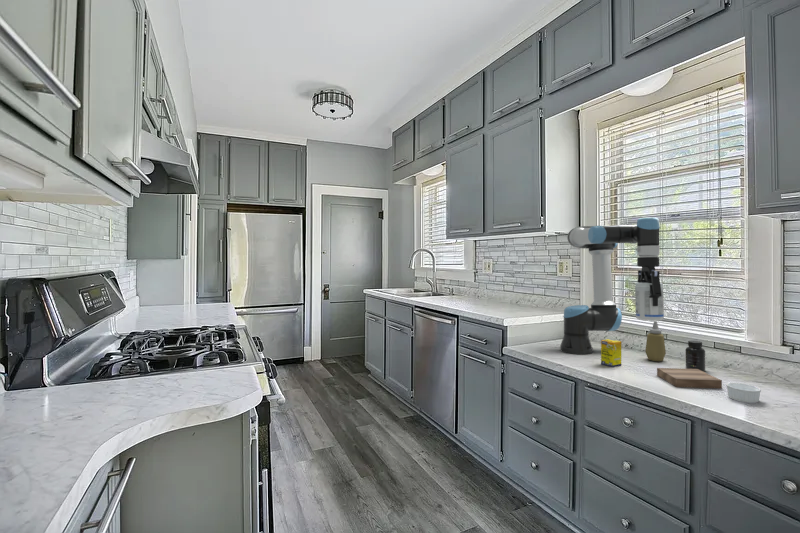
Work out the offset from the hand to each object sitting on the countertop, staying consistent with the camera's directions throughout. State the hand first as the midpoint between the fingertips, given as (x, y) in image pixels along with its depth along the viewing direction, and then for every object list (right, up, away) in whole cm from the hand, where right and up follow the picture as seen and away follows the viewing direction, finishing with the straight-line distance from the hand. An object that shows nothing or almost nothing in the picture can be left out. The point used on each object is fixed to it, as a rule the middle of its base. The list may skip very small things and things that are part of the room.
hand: (648, 312), depth 159 cm
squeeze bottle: (+20, -25, +27) cm, 42 cm away
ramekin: (+17, -26, -24) cm, 40 cm away
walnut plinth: (+12, -26, -5) cm, 29 cm away
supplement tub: (0, -3, 0) cm, 3 cm away
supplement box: (-4, -26, +20) cm, 33 cm away
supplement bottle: (+27, -26, +11) cm, 38 cm away
